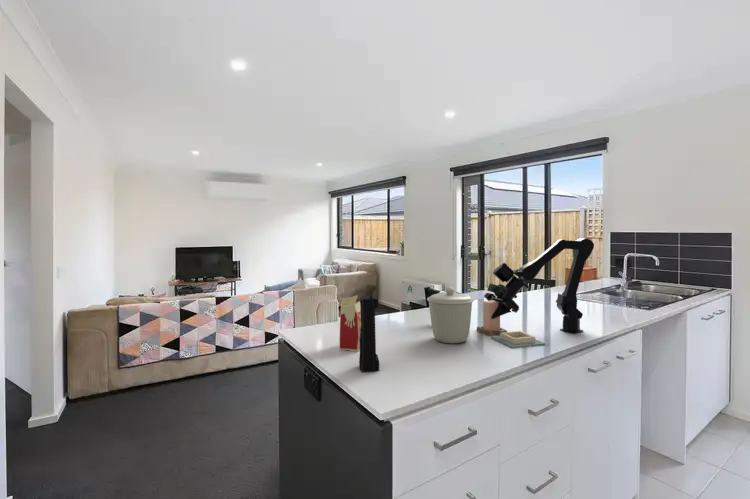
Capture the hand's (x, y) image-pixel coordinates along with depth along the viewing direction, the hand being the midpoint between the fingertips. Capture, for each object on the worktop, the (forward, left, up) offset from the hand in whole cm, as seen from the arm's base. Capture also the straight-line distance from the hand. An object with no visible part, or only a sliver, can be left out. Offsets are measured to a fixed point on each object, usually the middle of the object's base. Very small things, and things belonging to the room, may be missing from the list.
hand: (488, 316), depth 153 cm
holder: (-1, 0, -7) cm, 7 cm away
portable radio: (+62, +13, -7) cm, 63 cm away
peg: (-1, 0, -7) cm, 7 cm away
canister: (+21, +1, -7) cm, 22 cm away
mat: (0, +15, -7) cm, 17 cm away
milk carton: (+59, -9, -7) cm, 60 cm away
